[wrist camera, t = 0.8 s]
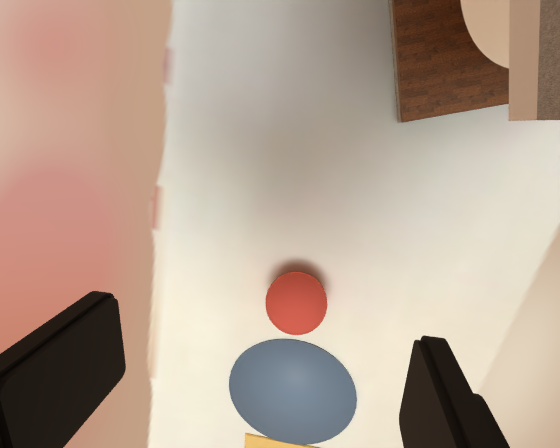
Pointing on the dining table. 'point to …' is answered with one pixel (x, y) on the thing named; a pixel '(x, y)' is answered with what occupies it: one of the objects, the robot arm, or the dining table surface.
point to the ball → (296, 303)
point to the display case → (476, 57)
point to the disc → (292, 391)
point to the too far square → (269, 443)
